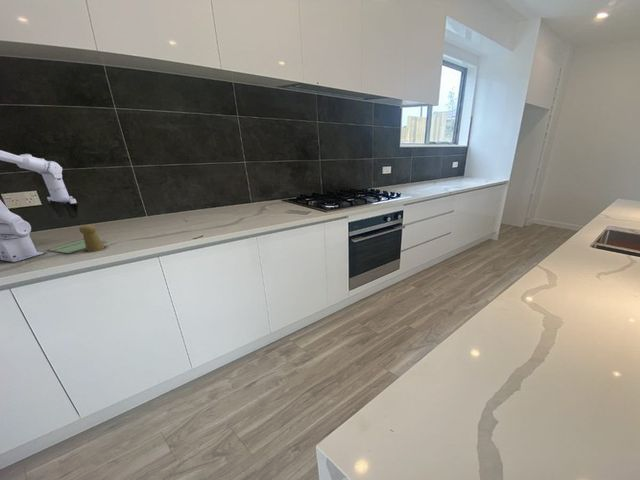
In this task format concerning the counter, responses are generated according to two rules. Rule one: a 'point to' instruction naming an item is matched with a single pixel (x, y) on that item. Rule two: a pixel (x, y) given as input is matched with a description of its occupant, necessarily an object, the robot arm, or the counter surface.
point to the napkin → (70, 247)
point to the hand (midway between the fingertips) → (68, 217)
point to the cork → (91, 238)
